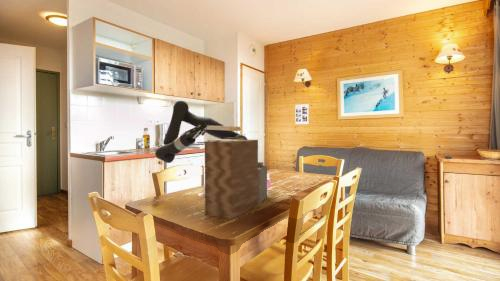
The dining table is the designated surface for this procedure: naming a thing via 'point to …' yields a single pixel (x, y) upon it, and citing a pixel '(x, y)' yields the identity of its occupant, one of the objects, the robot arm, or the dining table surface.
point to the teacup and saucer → (203, 192)
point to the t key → (223, 128)
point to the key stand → (230, 176)
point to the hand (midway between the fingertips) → (207, 124)
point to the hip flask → (262, 182)
